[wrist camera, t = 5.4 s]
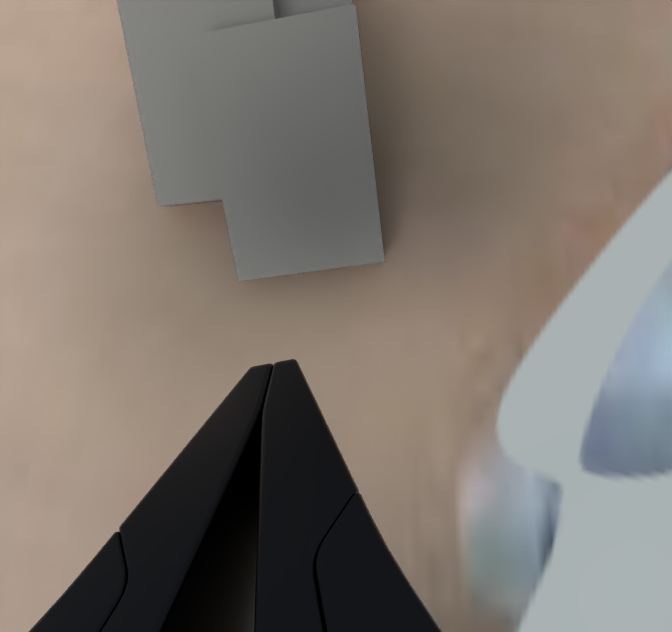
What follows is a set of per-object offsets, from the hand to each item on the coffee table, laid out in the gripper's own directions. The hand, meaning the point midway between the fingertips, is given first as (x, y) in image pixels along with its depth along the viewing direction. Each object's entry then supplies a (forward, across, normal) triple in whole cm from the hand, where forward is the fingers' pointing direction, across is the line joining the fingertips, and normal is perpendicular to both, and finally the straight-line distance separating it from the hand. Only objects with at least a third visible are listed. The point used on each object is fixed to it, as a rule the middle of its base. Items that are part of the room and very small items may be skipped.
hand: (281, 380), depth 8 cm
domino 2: (+10, 0, +3) cm, 10 cm away
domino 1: (+13, +3, 0) cm, 13 cm away
